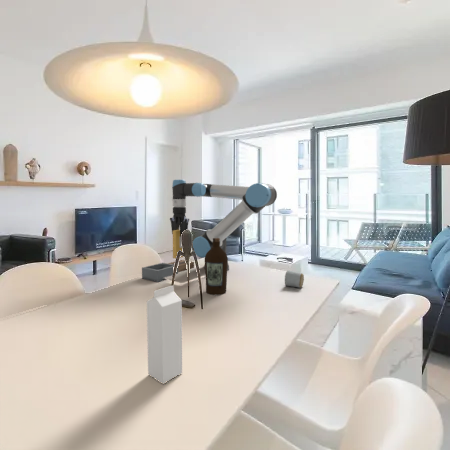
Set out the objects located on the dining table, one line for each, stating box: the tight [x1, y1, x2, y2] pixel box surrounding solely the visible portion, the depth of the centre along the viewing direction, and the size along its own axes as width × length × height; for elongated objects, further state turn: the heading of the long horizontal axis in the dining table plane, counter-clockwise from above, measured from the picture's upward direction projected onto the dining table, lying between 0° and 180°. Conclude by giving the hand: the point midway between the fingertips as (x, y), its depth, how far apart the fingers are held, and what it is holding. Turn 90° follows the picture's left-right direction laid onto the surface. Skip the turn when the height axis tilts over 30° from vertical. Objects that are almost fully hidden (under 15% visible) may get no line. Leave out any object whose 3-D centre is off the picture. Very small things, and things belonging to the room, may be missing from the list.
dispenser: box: [166, 259, 195, 273], centre depth 178 cm, size 10×14×6 cm
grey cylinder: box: [284, 269, 305, 288], centre depth 150 cm, size 11×8×8 cm
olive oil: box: [204, 238, 229, 296], centre depth 139 cm, size 11×11×25 cm
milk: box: [146, 285, 183, 383], centre depth 74 cm, size 6×6×22 cm
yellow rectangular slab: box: [172, 229, 184, 260], centre depth 177 cm, size 2×9×16 cm, turn 146°
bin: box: [141, 262, 179, 283], centre depth 164 cm, size 12×15×6 cm
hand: (179, 247), depth 177 cm, fingers closed on yellow rectangular slab, 2 cm apart
